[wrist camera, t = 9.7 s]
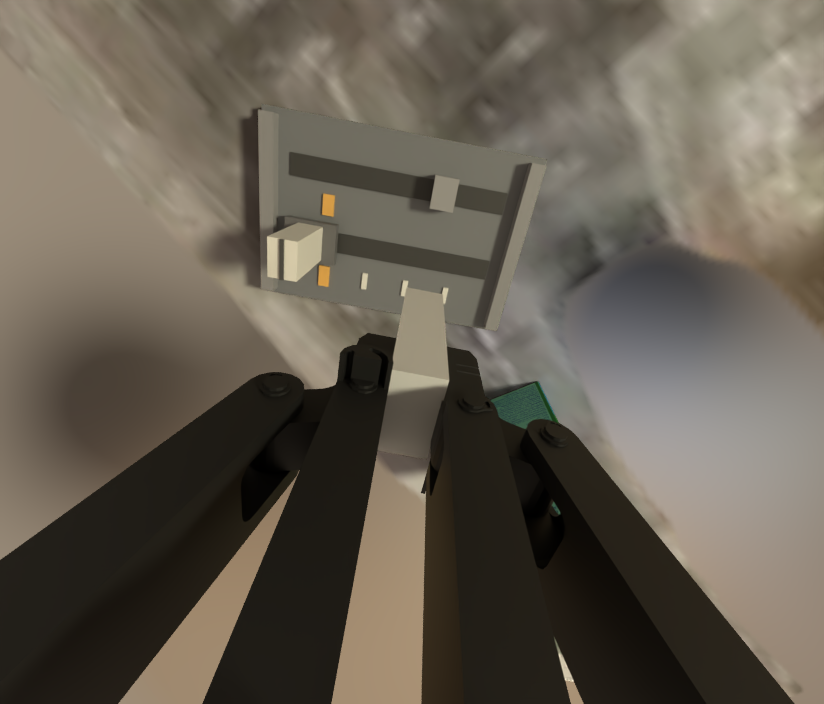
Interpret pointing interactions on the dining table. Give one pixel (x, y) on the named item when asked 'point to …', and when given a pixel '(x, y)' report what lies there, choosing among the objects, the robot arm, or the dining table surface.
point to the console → (397, 212)
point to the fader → (301, 247)
